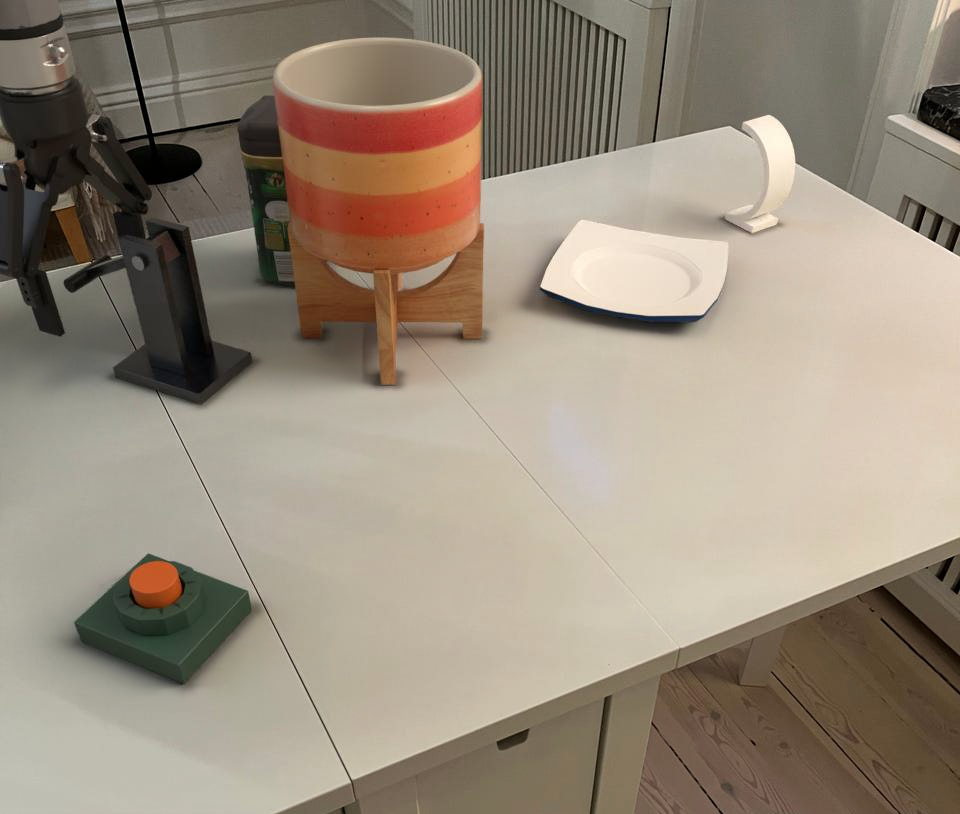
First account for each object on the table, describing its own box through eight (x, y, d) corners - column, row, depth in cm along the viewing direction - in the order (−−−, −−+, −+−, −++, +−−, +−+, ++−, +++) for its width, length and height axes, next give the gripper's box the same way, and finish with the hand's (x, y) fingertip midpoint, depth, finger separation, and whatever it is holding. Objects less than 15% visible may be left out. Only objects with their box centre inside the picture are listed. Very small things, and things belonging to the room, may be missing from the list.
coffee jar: (270, 249, 126) (246, 87, 112) (333, 251, 126) (317, 89, 112) (253, 287, 119) (226, 120, 106) (320, 290, 119) (301, 122, 105)
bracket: (115, 377, 106) (75, 239, 95) (169, 337, 111) (138, 202, 101) (201, 404, 103) (170, 264, 92) (253, 361, 108) (229, 225, 97)
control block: (80, 641, 80) (66, 605, 77) (154, 572, 86) (143, 536, 83) (184, 684, 77) (173, 649, 74) (252, 610, 83) (245, 573, 80)
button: (124, 600, 78) (118, 583, 77) (154, 571, 80) (149, 555, 79) (162, 615, 77) (157, 598, 76) (191, 586, 79) (187, 569, 78)
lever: (71, 298, 103) (57, 276, 102) (111, 273, 107) (98, 251, 105) (153, 272, 95) (139, 248, 94) (193, 246, 99) (180, 222, 98)
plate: (528, 312, 116) (529, 290, 114) (573, 235, 129) (575, 215, 127) (705, 343, 112) (710, 321, 110) (733, 261, 125) (738, 240, 123)
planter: (291, 385, 105) (253, 108, 86) (310, 290, 119) (281, 33, 99) (483, 385, 106) (488, 110, 86) (480, 291, 119) (484, 35, 100)
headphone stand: (749, 210, 135) (769, 114, 126) (782, 227, 132) (805, 130, 123) (724, 218, 133) (742, 122, 125) (757, 236, 130) (778, 138, 121)
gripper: (-40, 136, 82) (41, 368, 97) (157, 47, 97) (199, 259, 113) (-107, 120, 84) (-18, 349, 99) (95, 35, 99) (145, 245, 115)
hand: (97, 302), depth 106 cm, fingers open, 13 cm apart
